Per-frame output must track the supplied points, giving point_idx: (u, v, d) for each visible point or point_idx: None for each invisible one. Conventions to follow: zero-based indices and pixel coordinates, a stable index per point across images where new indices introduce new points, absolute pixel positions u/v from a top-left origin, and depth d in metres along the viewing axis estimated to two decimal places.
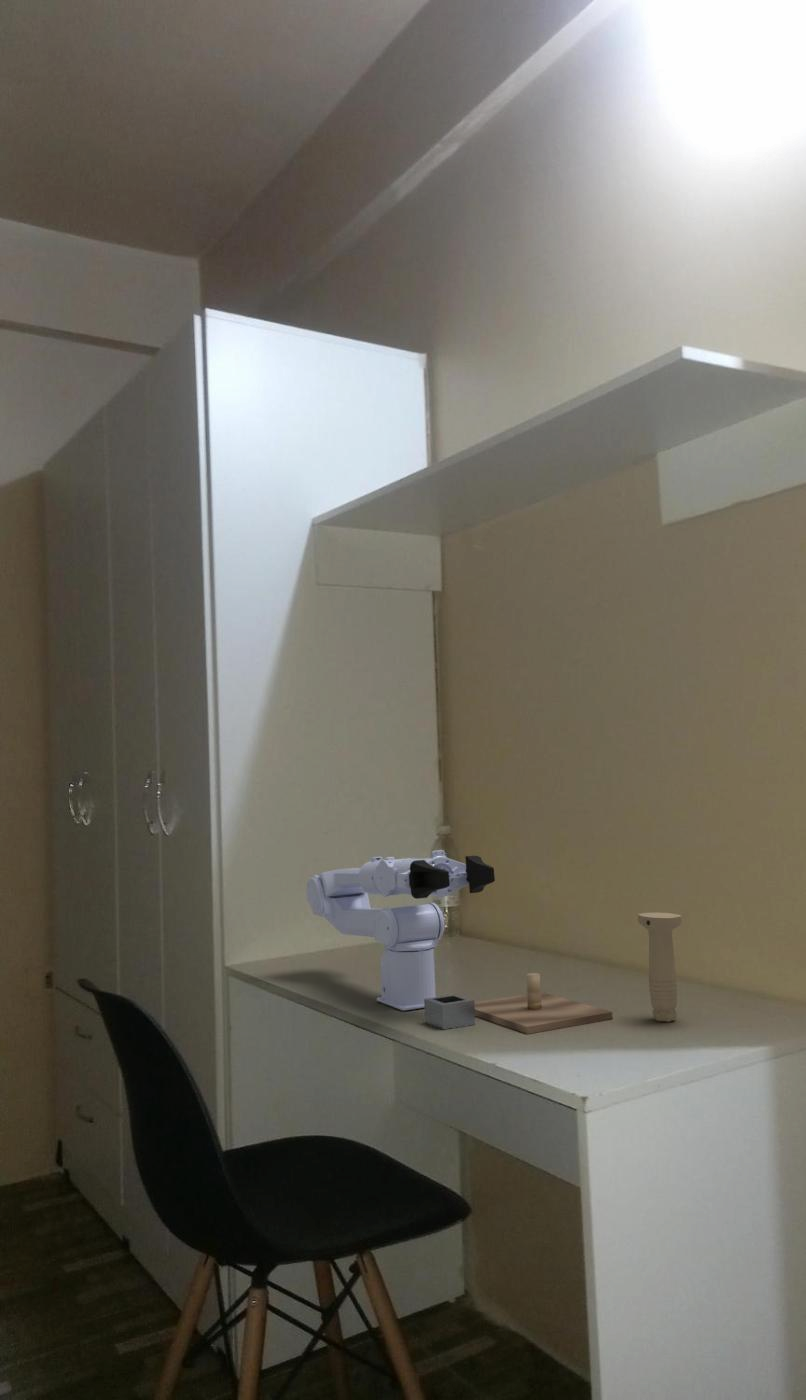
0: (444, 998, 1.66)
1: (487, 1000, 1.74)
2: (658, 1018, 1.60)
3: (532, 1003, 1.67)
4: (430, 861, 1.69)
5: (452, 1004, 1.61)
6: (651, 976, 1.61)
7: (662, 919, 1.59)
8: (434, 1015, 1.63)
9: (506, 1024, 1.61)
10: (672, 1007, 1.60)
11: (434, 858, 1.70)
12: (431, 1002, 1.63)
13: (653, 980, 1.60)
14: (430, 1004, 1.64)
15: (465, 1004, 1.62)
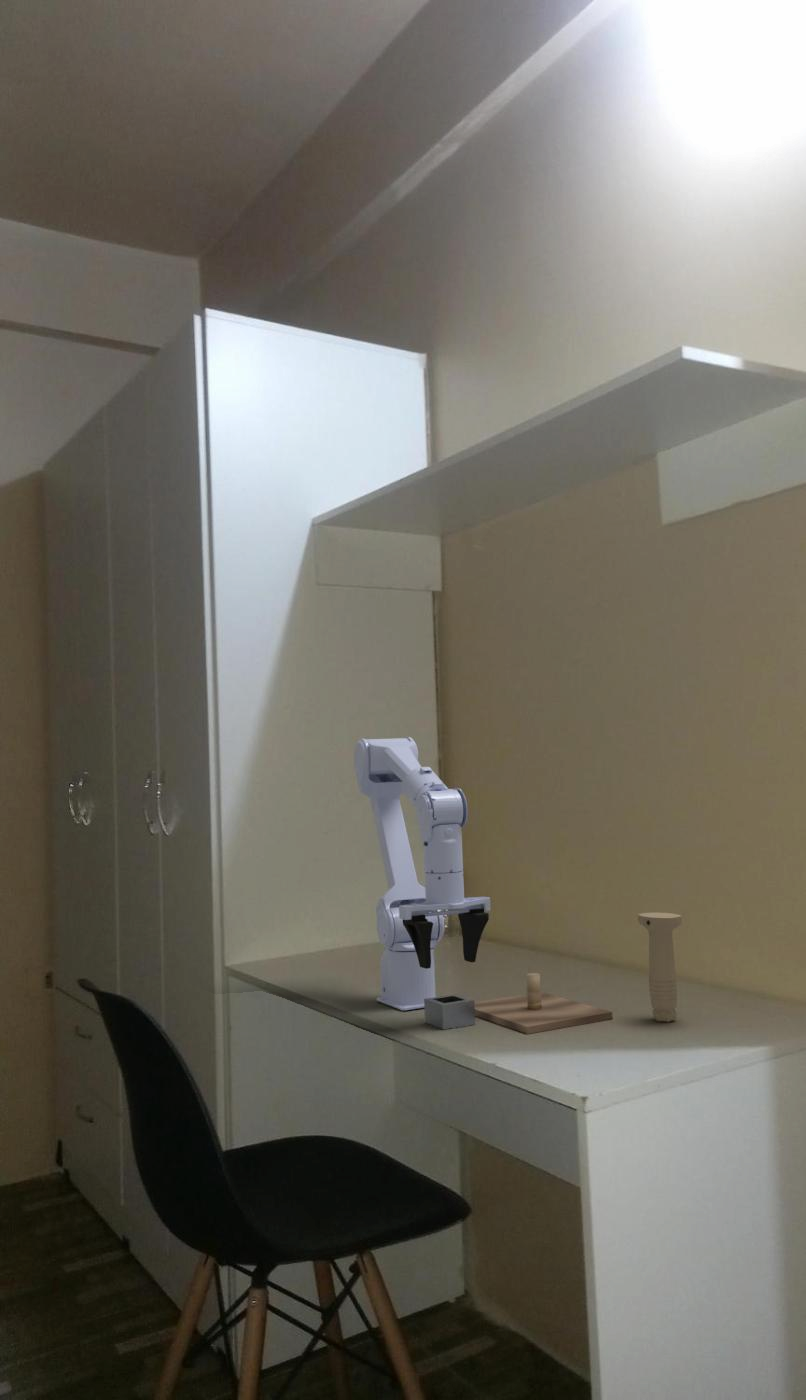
0: (444, 998, 1.66)
1: (487, 1000, 1.74)
2: (658, 1018, 1.60)
3: (532, 1003, 1.67)
4: (443, 909, 1.62)
5: (452, 1004, 1.61)
6: (651, 976, 1.61)
7: (662, 919, 1.59)
8: (434, 1015, 1.63)
9: (506, 1024, 1.61)
10: (672, 1007, 1.60)
11: None
12: (431, 1002, 1.63)
13: (653, 980, 1.60)
14: (430, 1004, 1.64)
15: (465, 1004, 1.62)
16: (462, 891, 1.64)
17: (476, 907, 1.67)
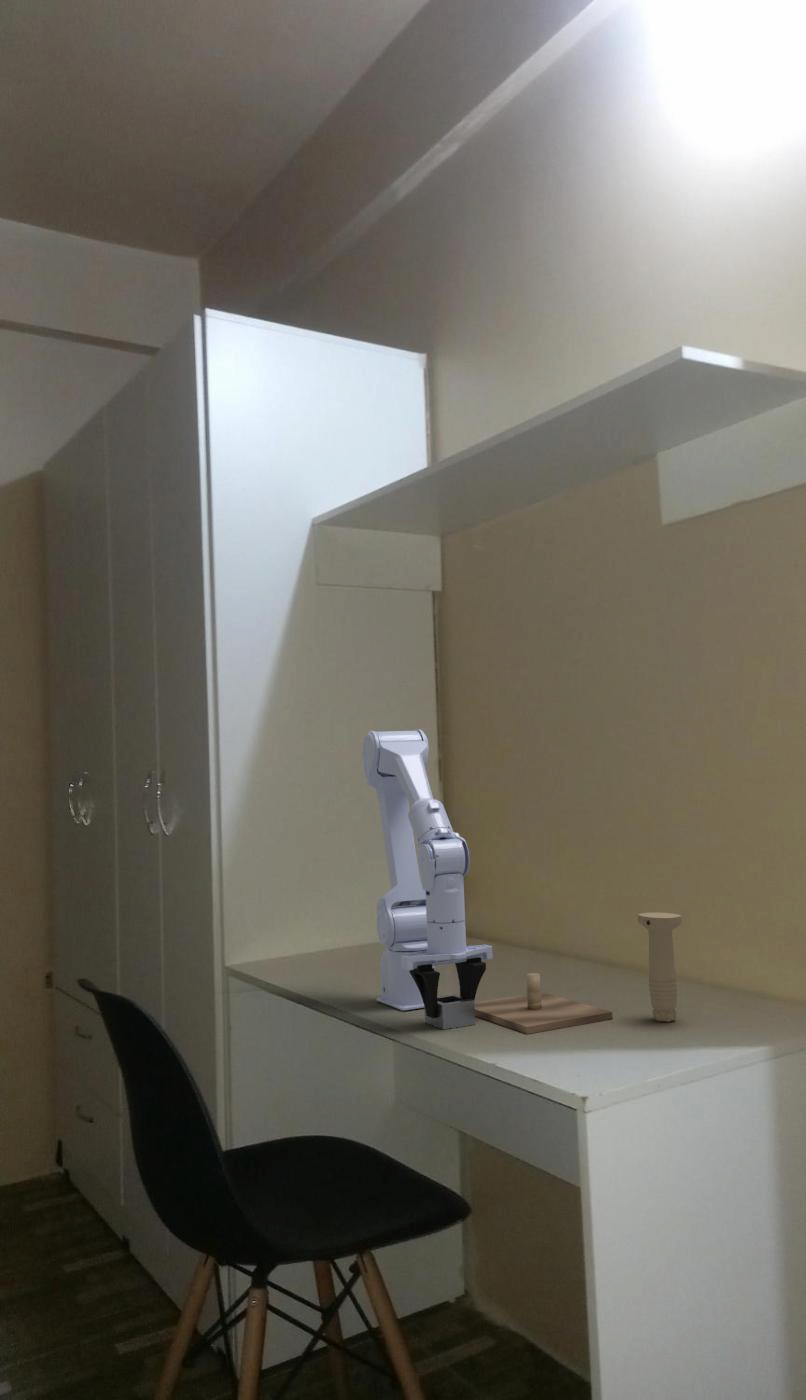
0: (444, 998, 1.66)
1: (487, 1000, 1.74)
2: (658, 1018, 1.60)
3: (532, 1003, 1.67)
4: (445, 959, 1.62)
5: (452, 1004, 1.61)
6: (651, 976, 1.61)
7: (662, 919, 1.59)
8: None
9: (506, 1024, 1.61)
10: (672, 1007, 1.60)
11: (451, 959, 1.62)
12: None
13: (653, 980, 1.60)
14: None
15: (465, 1004, 1.62)
16: (464, 941, 1.63)
17: (478, 956, 1.67)
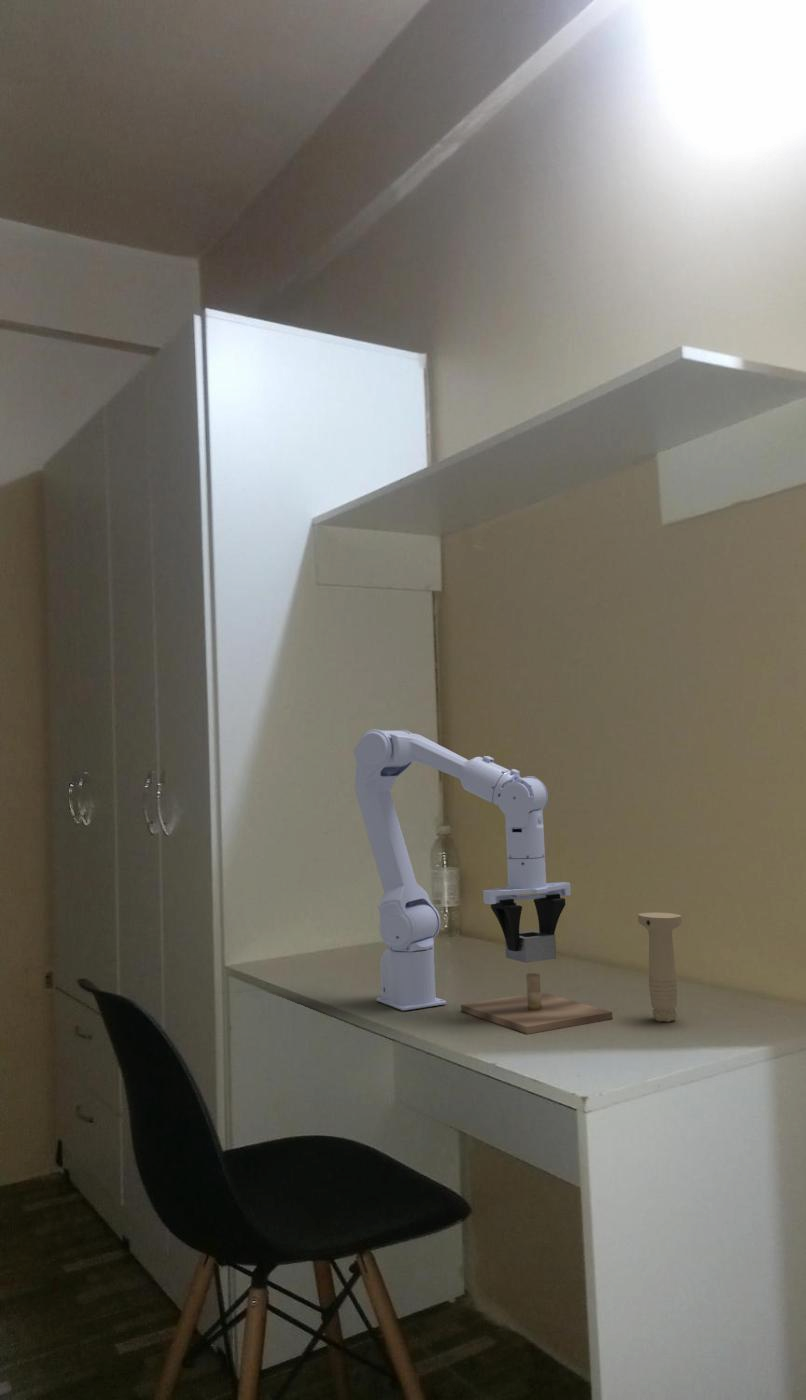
0: (524, 934, 1.70)
1: (487, 1000, 1.74)
2: (658, 1018, 1.60)
3: (532, 1003, 1.67)
4: None
5: (534, 938, 1.65)
6: (651, 976, 1.61)
7: (662, 919, 1.59)
8: None
9: (506, 1024, 1.61)
10: (672, 1007, 1.60)
11: (532, 893, 1.65)
12: None
13: (653, 980, 1.60)
14: None
15: (546, 938, 1.66)
16: (544, 876, 1.67)
17: (557, 892, 1.70)
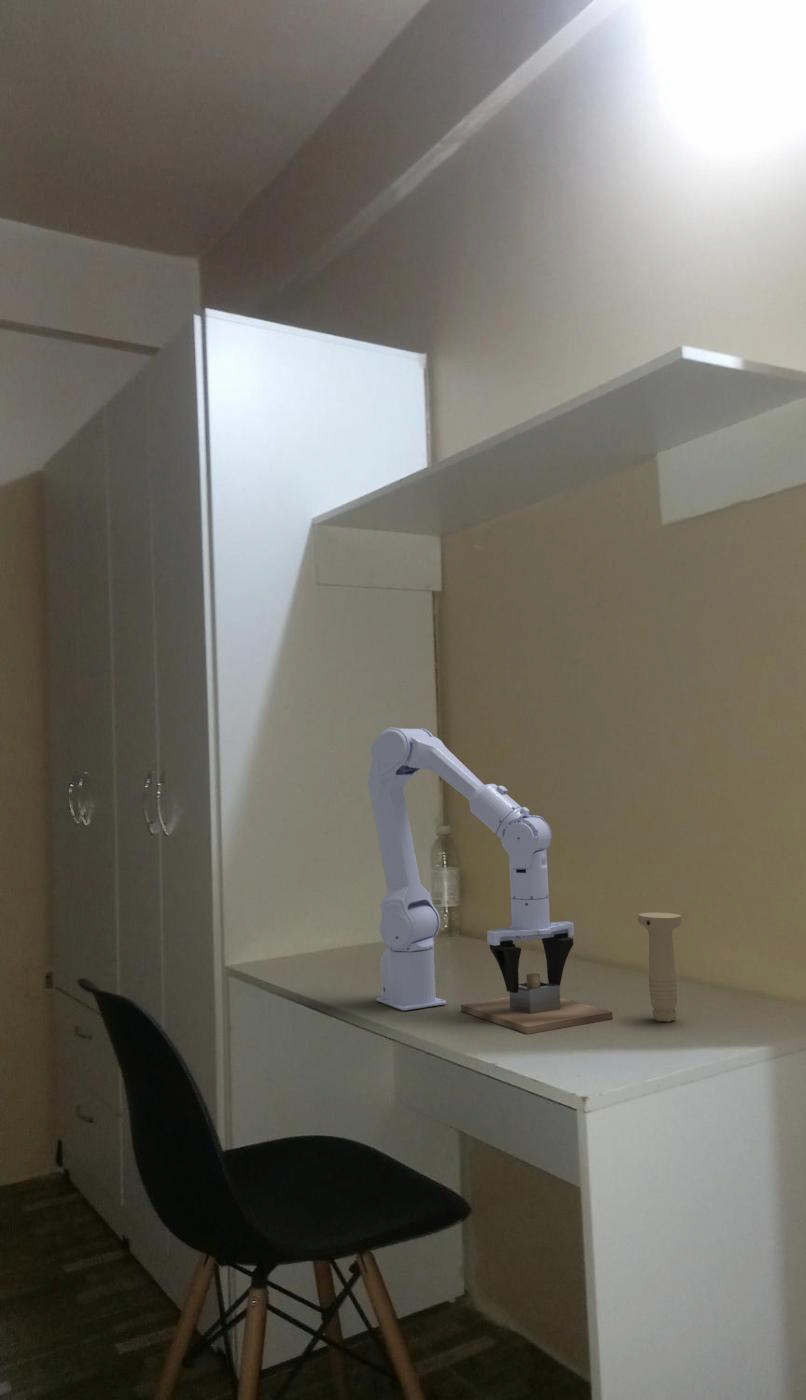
0: None
1: (487, 1000, 1.74)
2: (658, 1018, 1.60)
3: None
4: None
5: (539, 989, 1.65)
6: (651, 976, 1.61)
7: (662, 919, 1.59)
8: (520, 1000, 1.66)
9: (506, 1024, 1.61)
10: (672, 1007, 1.60)
11: (536, 934, 1.65)
12: None
13: (653, 980, 1.60)
14: None
15: (551, 989, 1.66)
16: (548, 917, 1.67)
17: (560, 932, 1.70)
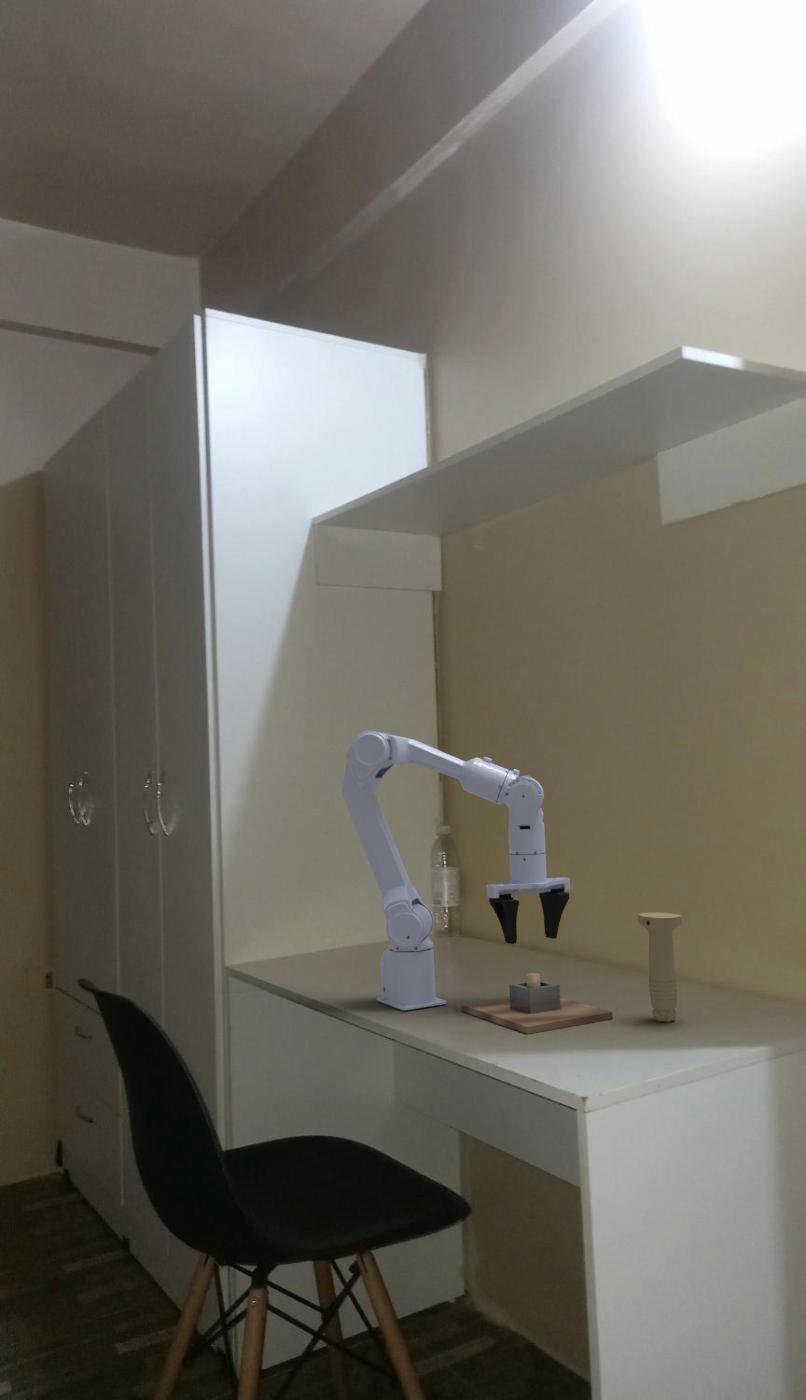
0: None
1: (487, 1000, 1.74)
2: (658, 1018, 1.60)
3: None
4: (528, 888, 1.73)
5: (539, 989, 1.65)
6: (651, 976, 1.61)
7: (662, 919, 1.59)
8: (520, 1000, 1.66)
9: (506, 1024, 1.61)
10: (672, 1007, 1.60)
11: (534, 888, 1.73)
12: (517, 987, 1.67)
13: (653, 980, 1.60)
14: (516, 989, 1.67)
15: (551, 989, 1.66)
16: (545, 871, 1.75)
17: (557, 887, 1.78)
